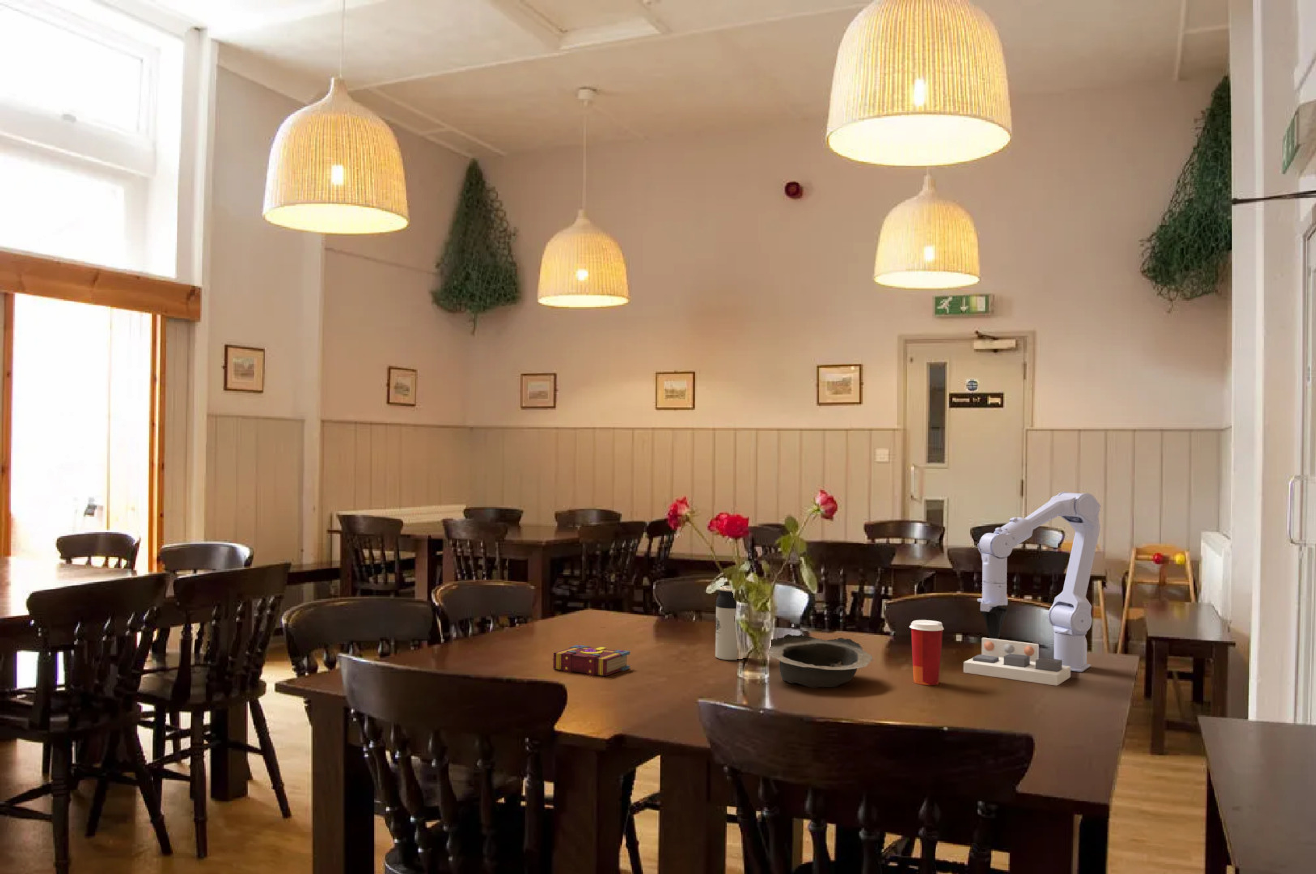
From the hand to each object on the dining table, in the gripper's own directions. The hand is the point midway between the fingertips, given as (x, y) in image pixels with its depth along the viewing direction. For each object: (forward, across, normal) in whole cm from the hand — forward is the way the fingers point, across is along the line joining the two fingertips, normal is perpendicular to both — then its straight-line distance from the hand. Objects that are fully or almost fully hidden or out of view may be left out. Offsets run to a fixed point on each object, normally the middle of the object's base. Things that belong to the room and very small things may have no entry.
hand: (994, 637), depth 252 cm
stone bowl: (+8, +38, -28) cm, 48 cm away
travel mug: (+8, +29, -58) cm, 65 cm away
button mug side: (+8, 0, -2) cm, 8 cm away
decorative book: (+8, +63, -77) cm, 100 cm away
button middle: (+7, 0, +6) cm, 9 cm away
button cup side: (+7, 0, +13) cm, 15 cm away
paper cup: (+8, +23, -8) cm, 26 cm away
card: (+8, -11, 0) cm, 14 cm away
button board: (+8, 0, +6) cm, 10 cm away
